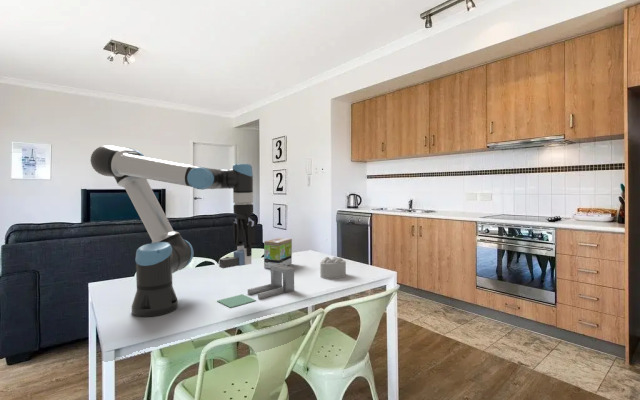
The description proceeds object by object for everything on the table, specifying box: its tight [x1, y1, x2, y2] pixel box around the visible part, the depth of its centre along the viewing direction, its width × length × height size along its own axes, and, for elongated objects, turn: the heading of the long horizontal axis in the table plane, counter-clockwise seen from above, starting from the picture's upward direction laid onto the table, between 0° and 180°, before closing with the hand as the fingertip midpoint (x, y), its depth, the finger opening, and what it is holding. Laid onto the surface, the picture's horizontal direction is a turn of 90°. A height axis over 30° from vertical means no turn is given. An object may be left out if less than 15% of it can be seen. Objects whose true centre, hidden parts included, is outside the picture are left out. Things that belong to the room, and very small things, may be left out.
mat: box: [217, 294, 257, 309], centre depth 132 cm, size 11×10×1 cm
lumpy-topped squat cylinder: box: [319, 256, 347, 280], centre depth 169 cm, size 10×13×9 cm
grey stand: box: [247, 264, 295, 300], centre depth 143 cm, size 17×10×10 cm, turn 134°
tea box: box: [263, 237, 293, 270], centre depth 189 cm, size 15×10×15 cm, turn 160°
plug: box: [218, 250, 245, 269], centre depth 131 cm, size 12×4×5 cm, turn 134°
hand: (244, 263), depth 134 cm, fingers closed on plug, 4 cm apart
